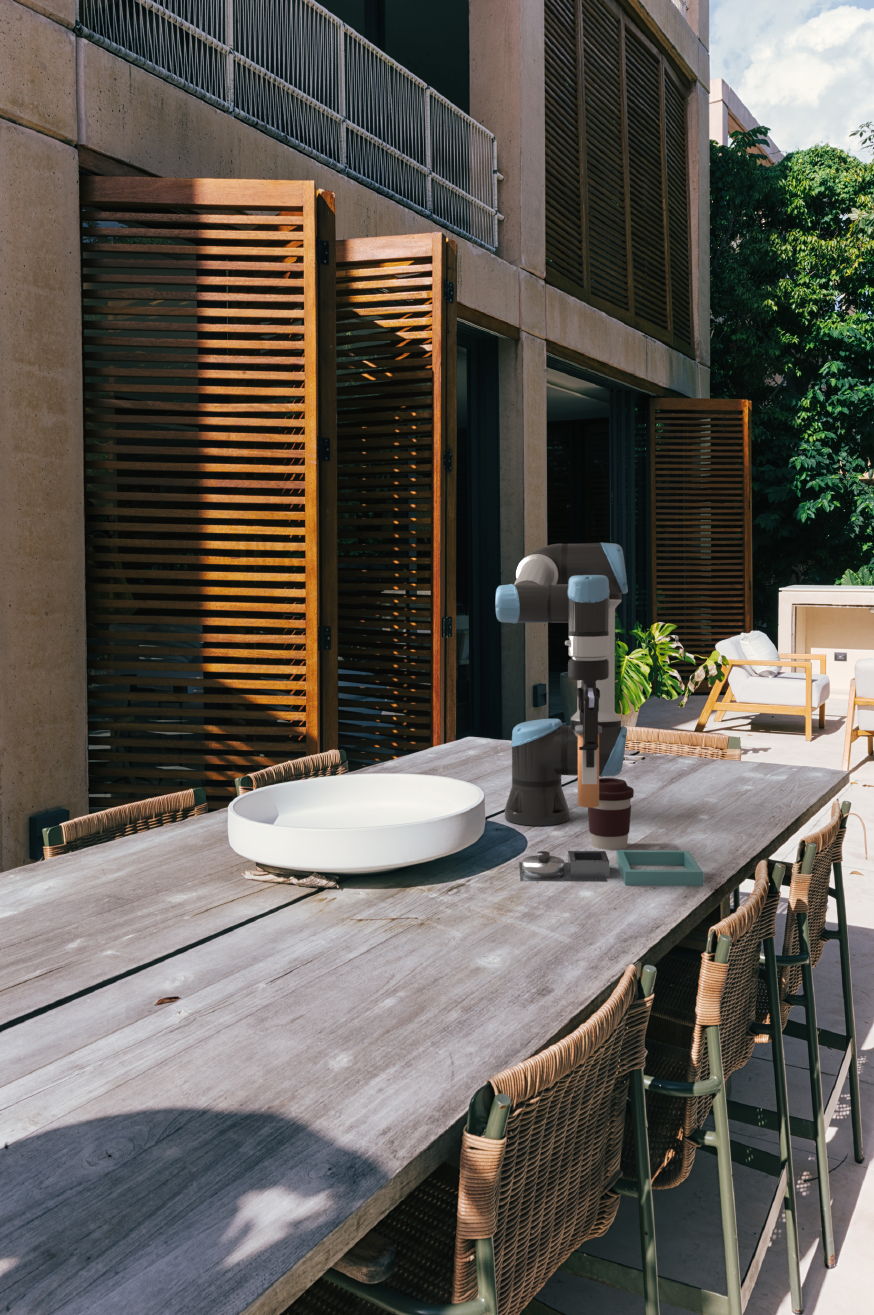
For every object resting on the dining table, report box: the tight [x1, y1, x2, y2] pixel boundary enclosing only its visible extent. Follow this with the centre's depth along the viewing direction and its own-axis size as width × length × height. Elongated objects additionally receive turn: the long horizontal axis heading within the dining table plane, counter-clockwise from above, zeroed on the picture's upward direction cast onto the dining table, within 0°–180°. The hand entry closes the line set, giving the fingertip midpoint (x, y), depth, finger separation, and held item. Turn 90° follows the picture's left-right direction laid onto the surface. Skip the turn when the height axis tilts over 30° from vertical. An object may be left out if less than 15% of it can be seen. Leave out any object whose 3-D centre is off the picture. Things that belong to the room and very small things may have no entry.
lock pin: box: [575, 725, 602, 809], centre depth 192 cm, size 5×5×15 cm
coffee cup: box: [587, 777, 635, 851], centre depth 212 cm, size 10×10×15 cm
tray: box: [615, 849, 704, 887], centre depth 192 cm, size 14×14×4 cm
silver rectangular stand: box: [518, 850, 610, 883], centre depth 194 cm, size 12×17×5 cm
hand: (588, 780), depth 192 cm, fingers closed on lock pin, 4 cm apart
